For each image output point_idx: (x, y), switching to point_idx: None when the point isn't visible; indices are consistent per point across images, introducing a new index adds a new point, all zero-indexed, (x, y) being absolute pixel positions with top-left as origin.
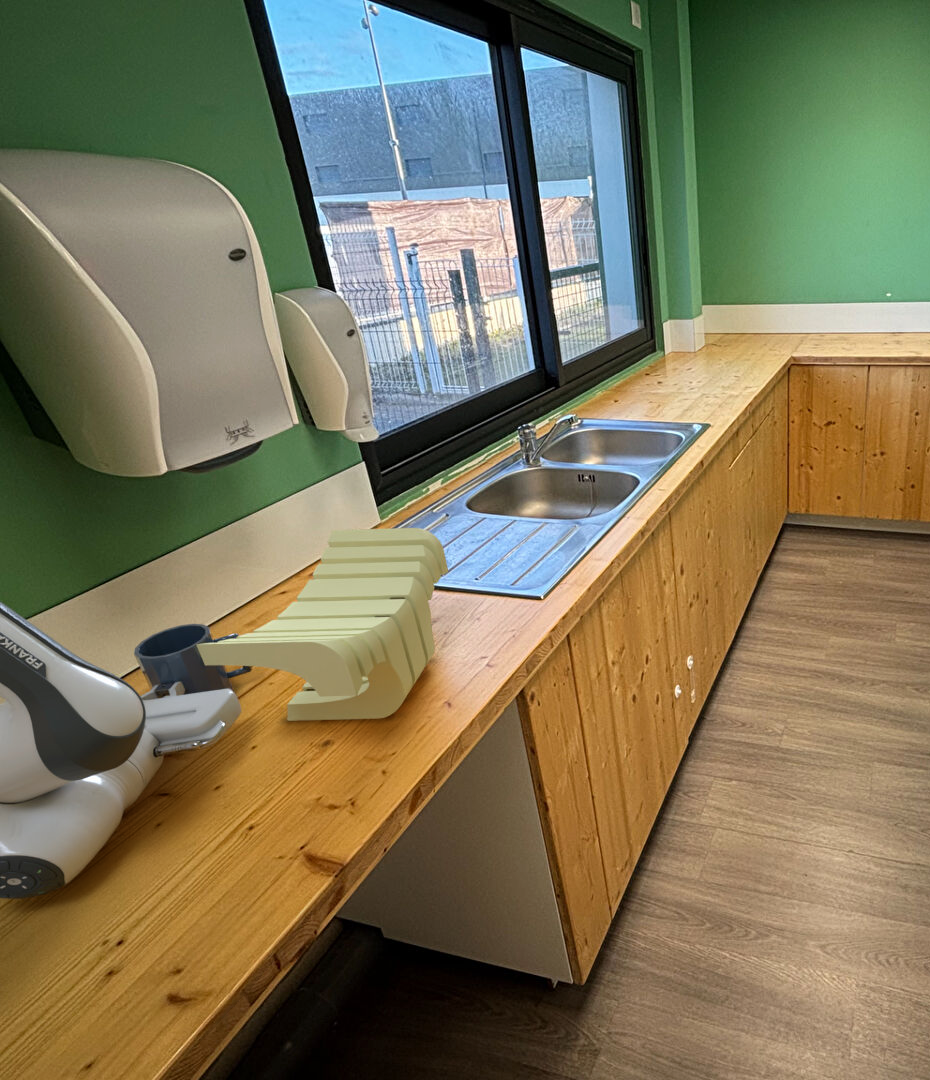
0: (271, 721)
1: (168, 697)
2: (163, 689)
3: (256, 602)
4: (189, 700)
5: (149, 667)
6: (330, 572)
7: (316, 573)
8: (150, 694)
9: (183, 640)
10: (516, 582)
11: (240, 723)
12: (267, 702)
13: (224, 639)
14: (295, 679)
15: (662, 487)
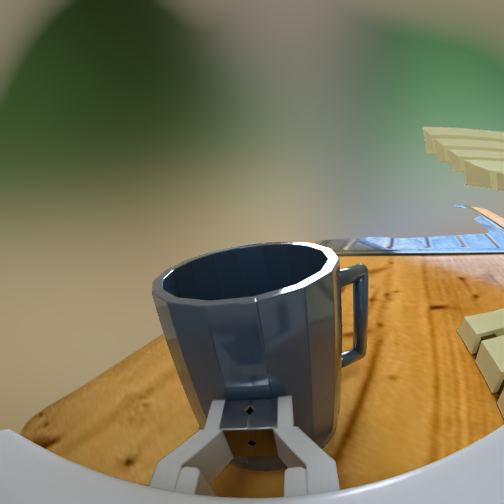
0: None
1: (345, 498)
2: (252, 426)
3: None
4: (481, 497)
5: (197, 341)
6: (479, 155)
7: (461, 155)
8: (212, 441)
9: (239, 283)
10: (498, 246)
11: None
12: (430, 418)
13: (347, 275)
14: (428, 365)
15: (479, 208)
